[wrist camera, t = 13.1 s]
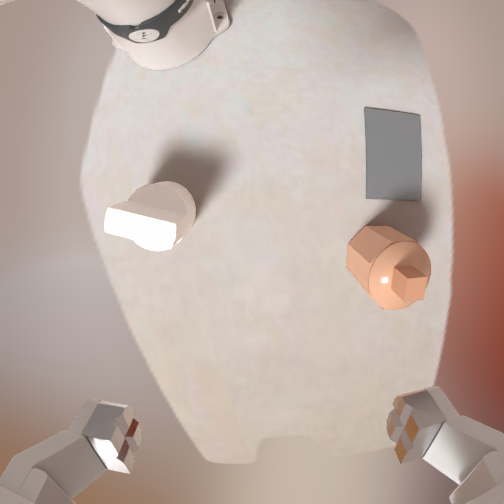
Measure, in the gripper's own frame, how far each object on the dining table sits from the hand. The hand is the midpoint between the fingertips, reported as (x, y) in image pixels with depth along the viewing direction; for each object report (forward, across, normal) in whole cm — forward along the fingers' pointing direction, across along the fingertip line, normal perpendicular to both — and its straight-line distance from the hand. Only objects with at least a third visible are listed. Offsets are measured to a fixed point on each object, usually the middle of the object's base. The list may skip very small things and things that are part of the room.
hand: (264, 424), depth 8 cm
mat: (+37, -22, -9) cm, 44 cm away
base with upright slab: (+37, +13, -1) cm, 40 cm away
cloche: (+37, -19, +7) cm, 42 cm away
